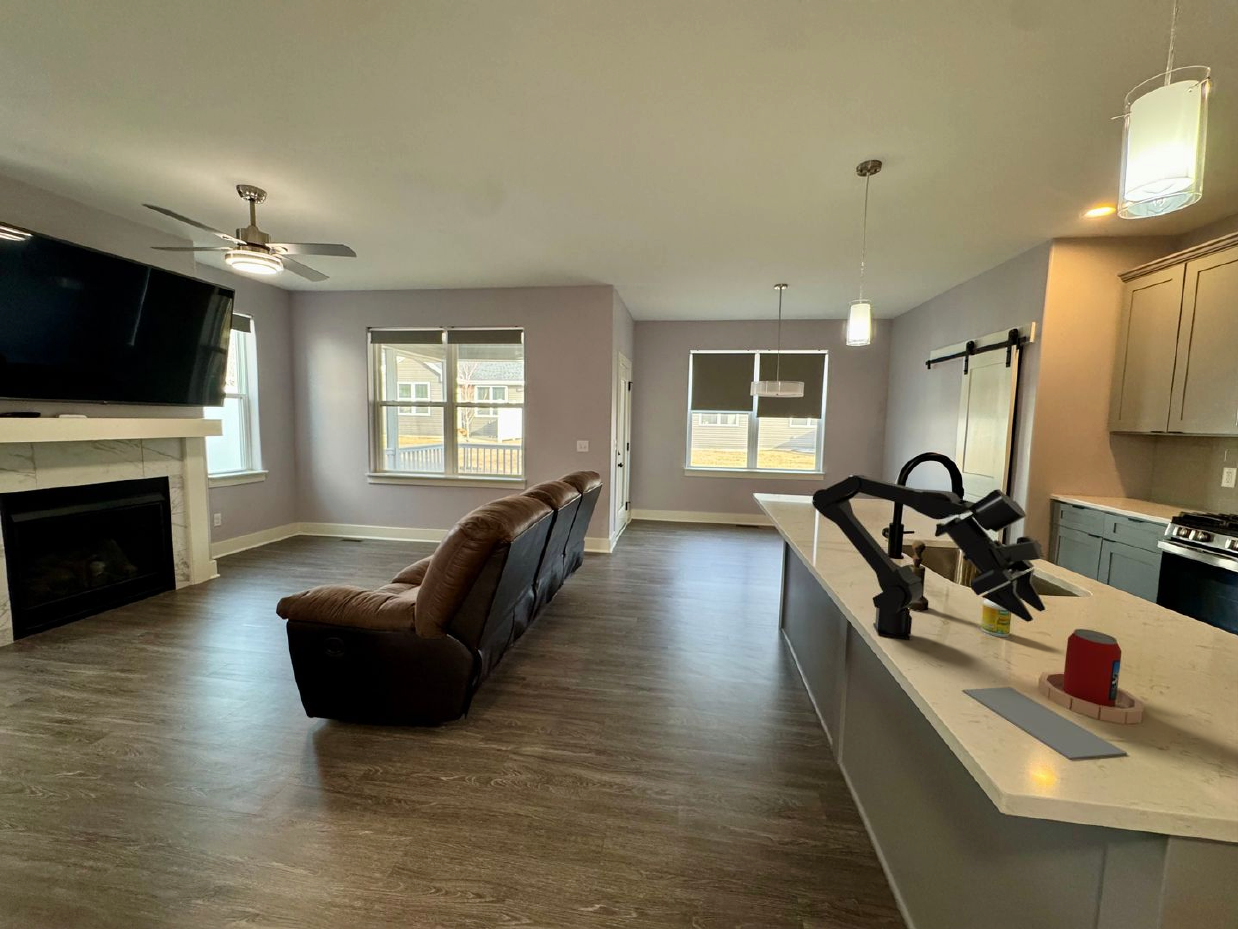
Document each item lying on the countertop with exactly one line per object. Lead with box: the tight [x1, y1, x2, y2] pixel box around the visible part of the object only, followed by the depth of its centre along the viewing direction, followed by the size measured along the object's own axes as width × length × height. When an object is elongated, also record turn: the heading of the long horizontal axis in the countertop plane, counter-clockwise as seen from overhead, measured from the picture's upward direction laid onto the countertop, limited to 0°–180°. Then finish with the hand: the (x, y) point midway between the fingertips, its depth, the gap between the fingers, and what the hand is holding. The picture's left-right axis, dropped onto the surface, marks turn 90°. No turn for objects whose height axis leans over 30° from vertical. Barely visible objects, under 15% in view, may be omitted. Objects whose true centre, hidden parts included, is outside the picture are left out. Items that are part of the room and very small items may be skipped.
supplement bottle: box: [980, 598, 1012, 638], centre depth 114 cm, size 5×5×10 cm
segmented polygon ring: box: [1037, 670, 1144, 725], centre depth 85 cm, size 13×13×2 cm
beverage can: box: [1062, 628, 1122, 708], centre depth 85 cm, size 7×7×12 cm
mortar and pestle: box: [907, 540, 929, 612], centre depth 129 cm, size 7×6×18 cm
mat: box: [961, 686, 1128, 760], centre depth 79 cm, size 18×10×1 cm, turn 9°
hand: (1036, 615), depth 91 cm, fingers open, 9 cm apart
